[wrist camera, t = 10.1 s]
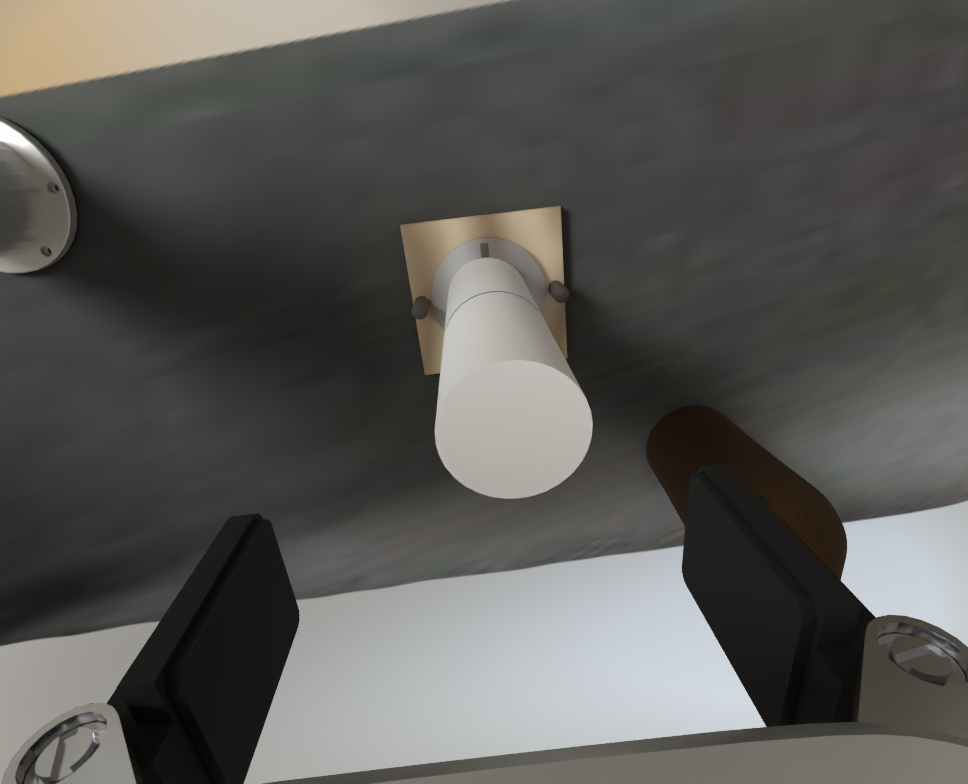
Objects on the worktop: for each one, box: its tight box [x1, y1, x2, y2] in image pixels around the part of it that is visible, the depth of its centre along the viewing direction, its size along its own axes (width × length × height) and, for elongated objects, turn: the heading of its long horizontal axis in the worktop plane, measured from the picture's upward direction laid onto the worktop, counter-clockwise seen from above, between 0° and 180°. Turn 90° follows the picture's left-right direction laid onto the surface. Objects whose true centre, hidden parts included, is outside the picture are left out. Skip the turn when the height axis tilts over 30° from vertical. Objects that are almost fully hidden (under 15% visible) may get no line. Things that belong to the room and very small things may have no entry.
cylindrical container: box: [435, 258, 593, 499], centre depth 34 cm, size 7×7×25 cm
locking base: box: [400, 206, 570, 375], centre depth 45 cm, size 14×14×4 cm
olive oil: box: [647, 406, 847, 580], centre depth 43 cm, size 11×11×25 cm
